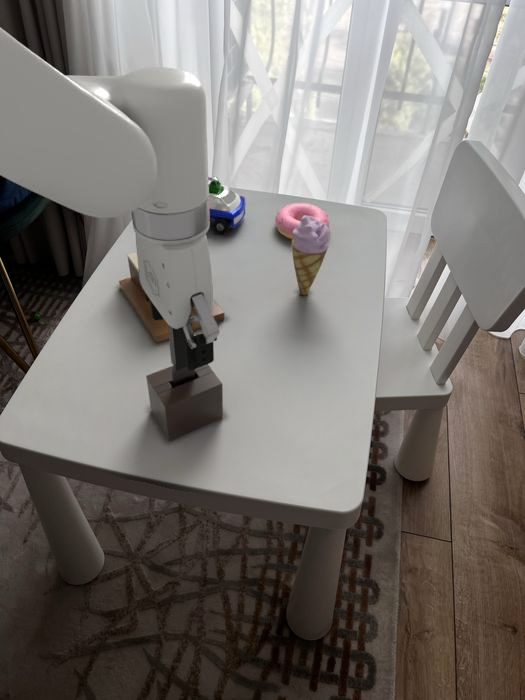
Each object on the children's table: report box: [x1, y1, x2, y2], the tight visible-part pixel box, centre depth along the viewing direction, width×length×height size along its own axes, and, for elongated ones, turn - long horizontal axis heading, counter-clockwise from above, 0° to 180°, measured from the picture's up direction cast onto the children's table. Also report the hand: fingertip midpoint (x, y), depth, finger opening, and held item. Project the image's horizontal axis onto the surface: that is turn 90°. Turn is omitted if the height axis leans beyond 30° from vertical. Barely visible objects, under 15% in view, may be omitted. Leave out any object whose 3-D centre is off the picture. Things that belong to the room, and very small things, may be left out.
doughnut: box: [274, 202, 331, 241], centre depth 108 cm, size 11×11×4 cm
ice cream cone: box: [291, 215, 331, 296], centre depth 89 cm, size 7×6×15 cm
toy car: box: [208, 176, 246, 236], centre depth 107 cm, size 9×12×10 cm
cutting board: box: [118, 276, 225, 344], centre depth 90 cm, size 12×16×2 cm
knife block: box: [145, 364, 224, 442], centre depth 71 cm, size 8×6×7 cm
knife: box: [168, 315, 195, 388], centre depth 67 cm, size 3×2×18 cm, turn 121°
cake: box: [126, 251, 149, 301], centre depth 90 cm, size 8×7×5 cm
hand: (182, 339), depth 64 cm, fingers open, 9 cm apart
